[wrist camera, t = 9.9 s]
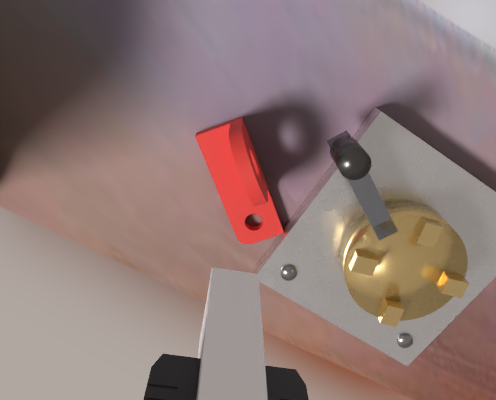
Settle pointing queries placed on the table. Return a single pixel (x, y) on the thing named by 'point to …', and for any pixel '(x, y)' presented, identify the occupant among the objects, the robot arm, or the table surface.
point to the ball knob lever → (396, 248)
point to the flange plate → (349, 211)
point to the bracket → (239, 180)
